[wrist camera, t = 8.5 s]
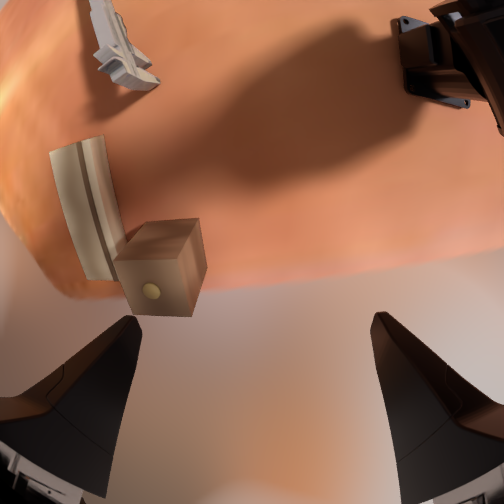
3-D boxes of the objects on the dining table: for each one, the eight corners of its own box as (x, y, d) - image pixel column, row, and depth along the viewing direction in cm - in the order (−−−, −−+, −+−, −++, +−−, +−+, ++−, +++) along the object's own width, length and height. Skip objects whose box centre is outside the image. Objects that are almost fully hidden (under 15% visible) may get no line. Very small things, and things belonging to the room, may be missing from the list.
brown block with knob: (199, 217, 20) (175, 260, 15) (207, 267, 23) (191, 318, 17) (146, 221, 21) (111, 262, 15) (158, 268, 23) (132, 316, 18)
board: (103, 134, 17) (88, 138, 15) (135, 267, 23) (126, 281, 21) (63, 146, 17) (48, 152, 16) (97, 268, 23) (87, 280, 22)
